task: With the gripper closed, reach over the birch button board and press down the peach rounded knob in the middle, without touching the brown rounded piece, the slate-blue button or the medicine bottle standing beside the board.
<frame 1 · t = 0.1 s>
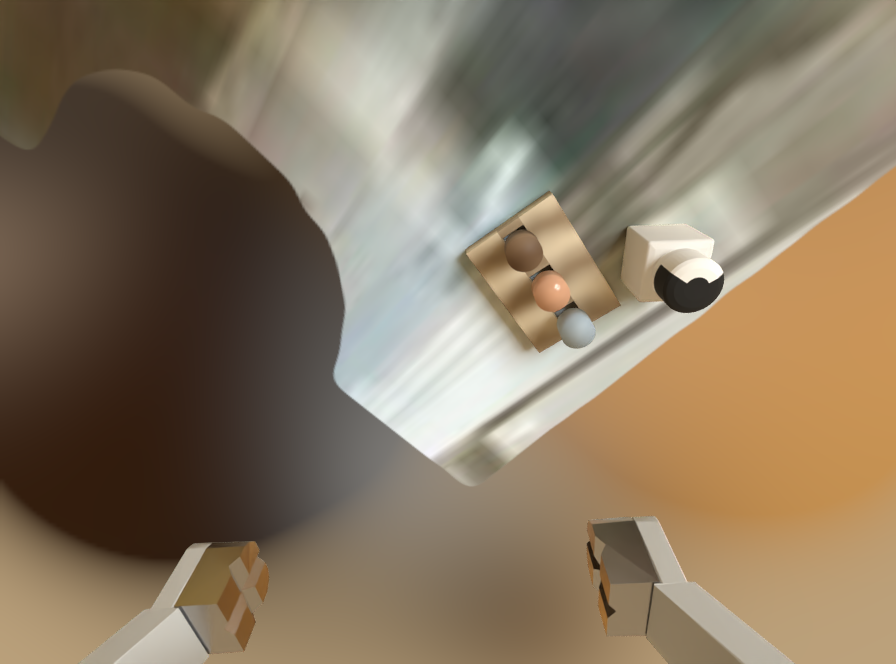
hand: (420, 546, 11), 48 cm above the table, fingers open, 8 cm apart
brown rounded piece: (521, 248, 52), point 5 cm above the table, slide at 0.0 cm
button board: (542, 274, 58), on the table
peach rounded knob: (548, 287, 54), point 5 cm above the table, slide at 0.0 cm
slate-blue button: (573, 324, 56), point 5 cm above the table, slide at 0.0 cm
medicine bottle: (651, 252, 57), on the table
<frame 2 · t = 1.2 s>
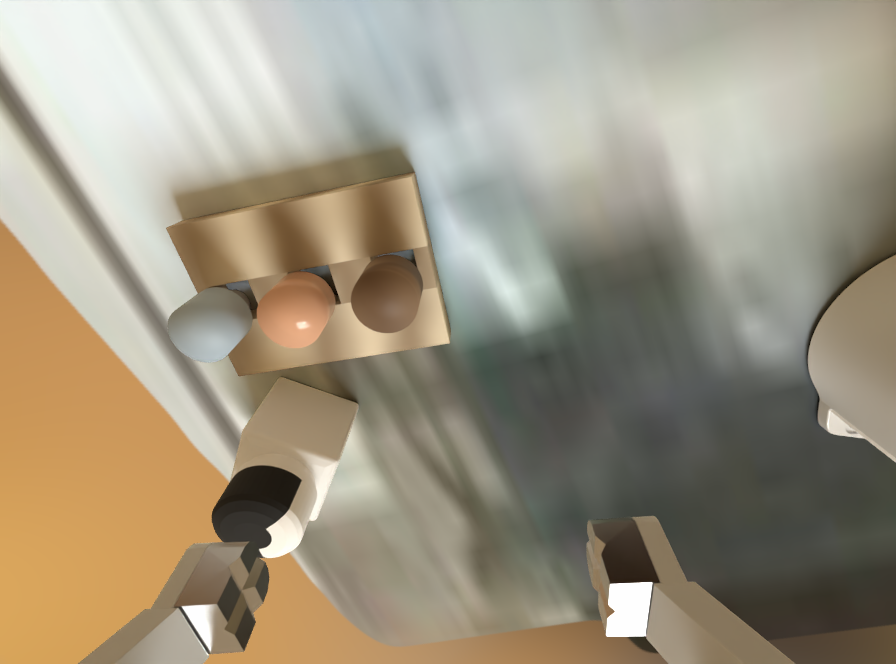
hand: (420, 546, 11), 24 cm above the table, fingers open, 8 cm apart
brown rounded piece: (391, 287, 29), point 4 cm above the table, slide at 0.0 cm
button board: (322, 278, 34), on the table
peach rounded knob: (303, 302, 30), point 5 cm above the table, slide at 0.0 cm
slate-blue button: (219, 317, 31), point 4 cm above the table, slide at 0.0 cm
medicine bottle: (311, 417, 40), on the table
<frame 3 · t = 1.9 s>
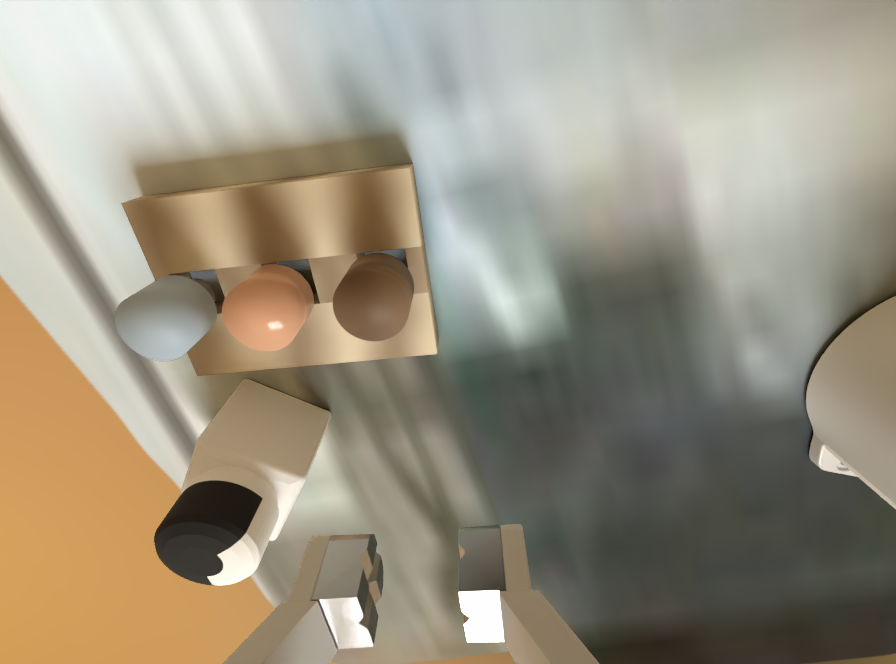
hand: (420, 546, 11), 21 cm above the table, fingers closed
brown rounded piece: (378, 289, 26), point 4 cm above the table, slide at 0.0 cm
button board: (300, 273, 30), on the table
peach rounded knob: (276, 300, 26), point 4 cm above the table, slide at 0.0 cm
slate-blue button: (178, 310, 27), point 4 cm above the table, slide at 0.0 cm
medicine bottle: (277, 424, 37), on the table
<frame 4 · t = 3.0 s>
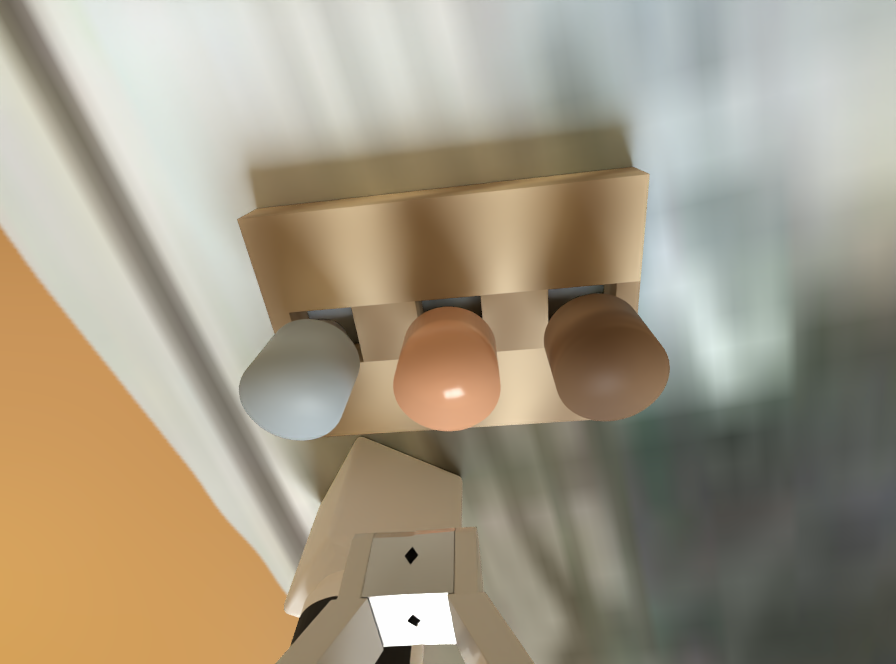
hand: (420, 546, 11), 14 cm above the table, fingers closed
brown rounded piece: (594, 343, 19), point 4 cm above the table, slide at 0.0 cm
button board: (452, 309, 23), on the table
peach rounded knob: (449, 354, 19), point 5 cm above the table, slide at 0.0 cm
slate-blue button: (311, 365, 20), point 5 cm above the table, slide at 0.0 cm
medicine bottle: (390, 488, 30), on the table
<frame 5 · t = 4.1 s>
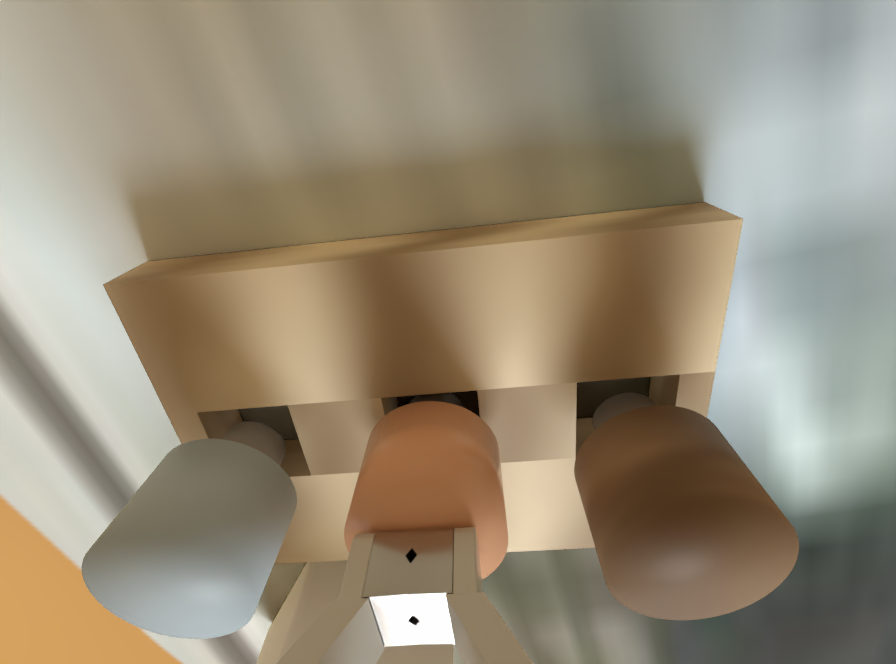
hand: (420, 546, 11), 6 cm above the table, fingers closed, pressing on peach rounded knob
brown rounded piece: (655, 478, 12), point 5 cm above the table, slide at 0.0 cm
button board: (437, 395, 16), on the table
peach rounded knob: (431, 467, 13), point 4 cm above the table, slide at -1.0 cm, touching gripper
slate-blue button: (220, 505, 13), point 4 cm above the table, slide at 0.0 cm
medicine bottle: (360, 605, 23), on the table
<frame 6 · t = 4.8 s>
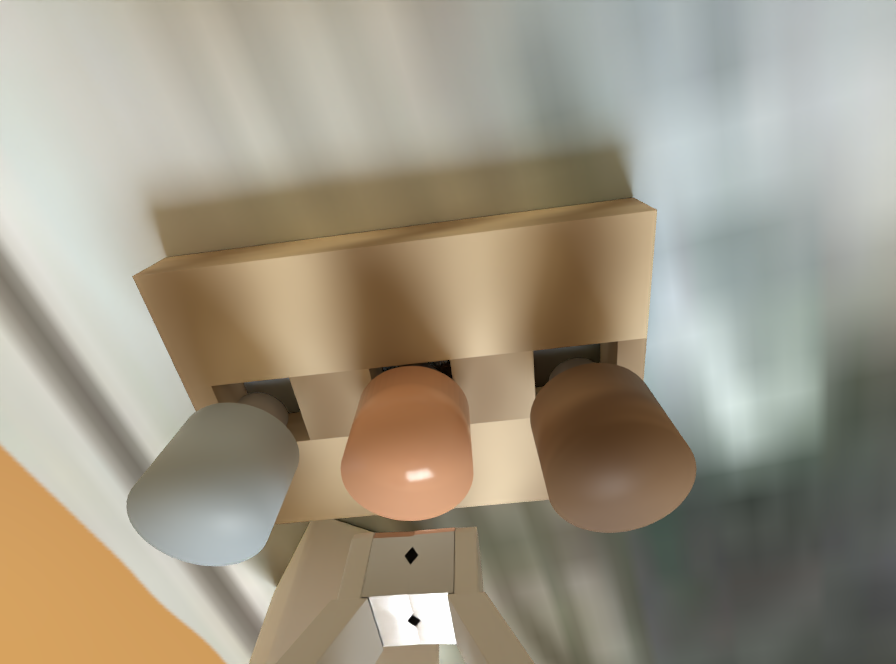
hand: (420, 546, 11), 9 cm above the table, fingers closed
brown rounded piece: (594, 424, 15), point 5 cm above the table, slide at 0.0 cm
button board: (418, 369, 19), on the table
peach rounded knob: (412, 422, 16), point 3 cm above the table, slide at -1.1 cm
slate-blue button: (235, 459, 15), point 5 cm above the table, slide at 0.0 cm
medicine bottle: (356, 567, 25), on the table
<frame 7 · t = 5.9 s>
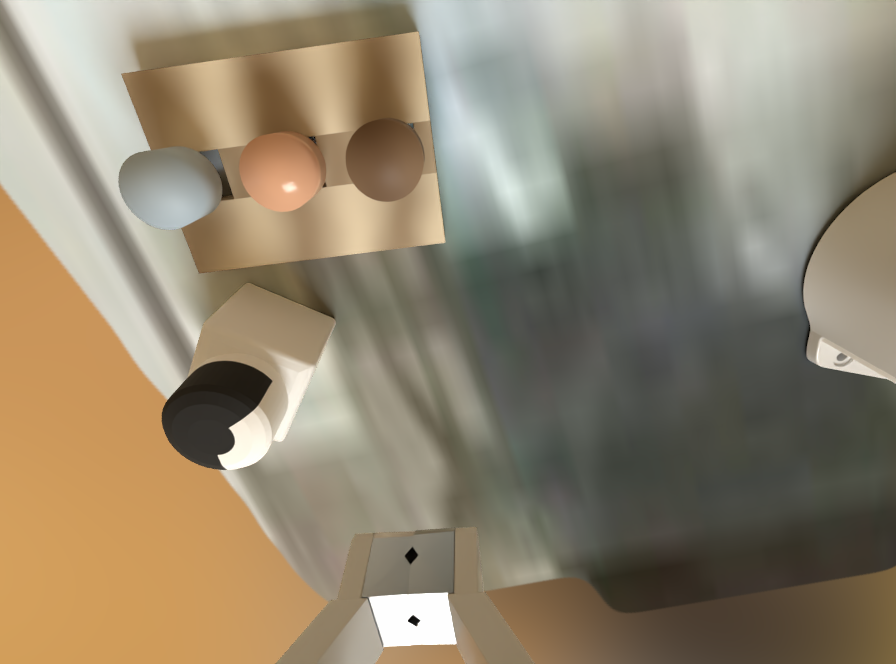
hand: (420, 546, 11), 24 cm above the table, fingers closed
brown rounded piece: (389, 157, 26), point 4 cm above the table, slide at 0.0 cm
button board: (305, 161, 30), on the table
peach rounded knob: (290, 168, 27), point 3 cm above the table, slide at -1.1 cm
slate-blue button: (182, 184, 26), point 5 cm above the table, slide at 0.0 cm
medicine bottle: (279, 335, 36), on the table
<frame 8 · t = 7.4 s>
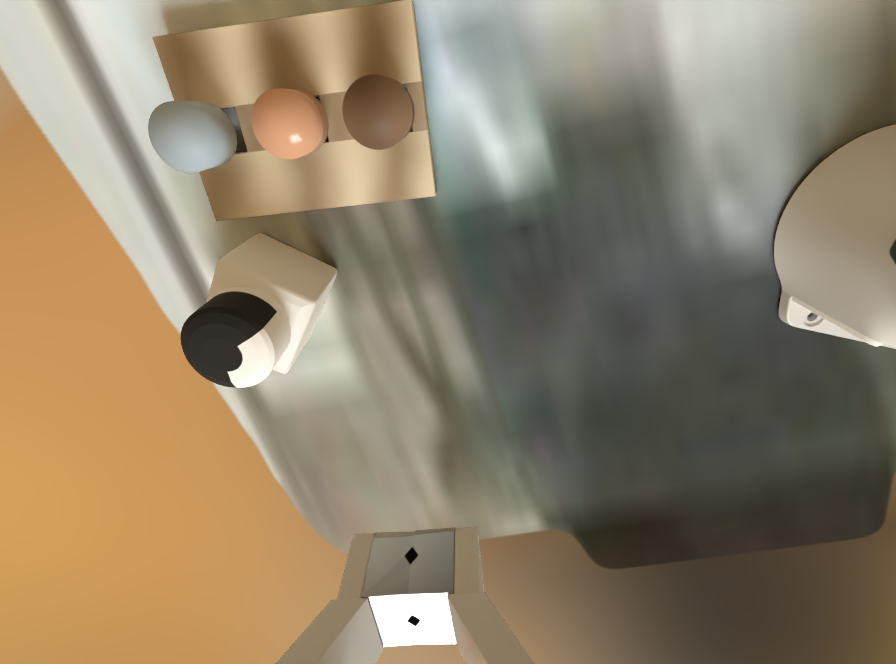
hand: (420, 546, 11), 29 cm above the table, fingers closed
brown rounded piece: (382, 112, 29), point 4 cm above the table, slide at 0.0 cm
button board: (311, 120, 33), on the table
peach rounded knob: (296, 122, 30), point 3 cm above the table, slide at -1.1 cm
slate-blue button: (202, 135, 30), point 4 cm above the table, slide at 0.0 cm
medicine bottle: (287, 284, 40), on the table
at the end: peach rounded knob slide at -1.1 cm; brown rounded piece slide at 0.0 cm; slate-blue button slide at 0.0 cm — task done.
